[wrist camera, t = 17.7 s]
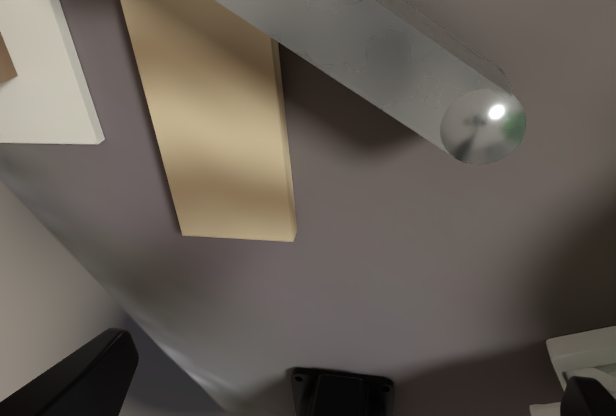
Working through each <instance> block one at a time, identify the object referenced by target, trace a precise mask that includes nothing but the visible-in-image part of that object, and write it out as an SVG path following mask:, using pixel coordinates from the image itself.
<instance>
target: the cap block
mask: <svg viewBox="0 0 616 416" xmlns="http://www.w3.org/2000/svg"><path fill="white" fill-rule="evenodd" d="M16 76H18V74H17V72H16V69H15V67H14V64H13V62H12V59H11V57H10V54H9V52H8V49H7V47H6V44H5V42H4V39H3V37H2V34H1V32H0V83H2V82H5V81H7V80H9V79H11V78H14V77H16Z"/></svg>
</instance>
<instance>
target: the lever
mask: <svg viewBox="0 0 616 416" xmlns="http://www.w3.org/2000/svg"><path fill="white" fill-rule="evenodd" d="M215 1H217V2H218V3H220V4H221V5H223V6H224V7H226V8H227V9H229V10H230V11H232V12H233V13H235V14H236V15H238V16H239V17H241V18H242V19H244V20H246V21H247V22H249V23H250V24H252V25H253V26H255V27H256V28H258V29H259V30H261V31H262V32H264V33H265V34H267V35H268V36H270V37H271V38H273V39H274V40H276V41H278V42H279V43H281V44H282V45H284V46H285V47H287V48H288V49H290V50H291V51H293V52H294V53H296V54H297V55H299V56H300V57H302V58H303V59H305V60H306V61H308V62H310V63H311V64H313V65H314V66H316V67H317V68H319V69H320V70H322V71H323V72H325V73H326V74H328V75H329V76H331V77H332V78H334V79H335V80H337V81H338V82H340V83H342V84H343V85H345V86H346V87H348V88H349V89H351V90H352V91H354V92H355V93H357V94H358V95H360V96H361V97H363V98H364V99H366V100H367V101H369V102H370V103H372V104H374V105H375V106H377V107H378V108H380V109H381V110H383V111H384V112H386V113H387V114H389V115H390V116H392V117H393V118H395V119H396V120H398V121H399V122H401V123H402V124H404V125H406V126H407V127H409V128H410V129H412V130H413V131H415V132H416V133H418V134H419V135H421V136H422V137H424V138H425V139H427V140H428V141H430V142H431V143H433V144H434V145H436V146H438V147H439V148H441V149H442V150H444V151H445V152H447V153H448V154H450V155H451V156H453V157H454V158H456V159H458V160H460V161H462V162H465V163H468V164H478V165H480V164H488V163H492V162H495V161H498V160H500V159H502V158H504V157H506V156H507V155H508V154H510V153H511V152H512V151H513V150H514V149H515V148H516V147H517V146H518V144H519V143H520V142H521V140H522V138H523V135H524V133H525V128H526V116H525V112H524V110H523V108H522V106H521V104H520V102H519V100H518V98H517V96H516V94H515V92H514V90H513V89H512V87H511V85H510V83H509V81H508V79H507V77H506V75H505V74H504V72H503V71H502V70H501V69H500V68H499V67H498V66H496V65H495V64H493V63H492V62H491V61H489V60H488V59H486V58H485V57H483V56H482V55H481V54H479V53H478V52H476V51H475V50H473V49H472V48H471V47H469V46H468V45H466V44H465V43H463V42H462V41H461V40H459V39H458V38H456V37H455V36H453V35H452V34H451V33H449V32H448V31H446V30H445V29H444V28H442V27H441V26H439V25H438V24H436V23H435V22H434V21H432V20H431V19H429V18H428V17H426V16H425V15H424V14H422V13H421V12H419V11H418V10H416V9H415V8H414V7H412V6H411V5H409V4H408V3H406V2H405V1H404V0H215Z"/></svg>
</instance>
